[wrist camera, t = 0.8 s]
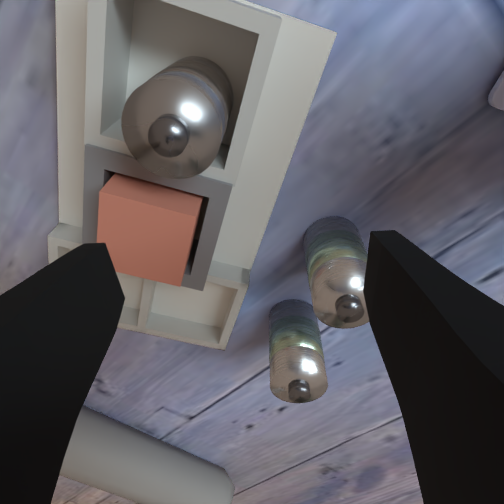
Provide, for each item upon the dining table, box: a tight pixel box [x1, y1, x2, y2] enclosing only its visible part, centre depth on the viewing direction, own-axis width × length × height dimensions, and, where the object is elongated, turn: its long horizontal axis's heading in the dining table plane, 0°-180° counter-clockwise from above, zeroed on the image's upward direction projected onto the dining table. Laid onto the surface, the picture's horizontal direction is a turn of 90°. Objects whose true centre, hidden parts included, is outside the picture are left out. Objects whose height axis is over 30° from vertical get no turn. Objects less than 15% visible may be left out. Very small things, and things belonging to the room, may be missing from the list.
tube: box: [59, 406, 235, 504], centre depth 32 cm, size 5×5×25 cm
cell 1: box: [269, 300, 328, 403], centre depth 22 cm, size 3×3×6 cm
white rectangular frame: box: [48, 0, 337, 351], centre depth 18 cm, size 11×18×4 cm, turn 164°
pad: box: [97, 172, 204, 287], centre depth 17 cm, size 4×4×3 cm
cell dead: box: [121, 56, 234, 179], centre depth 14 cm, size 3×3×6 cm
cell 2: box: [303, 216, 369, 328], centre depth 19 cm, size 3×3×6 cm
